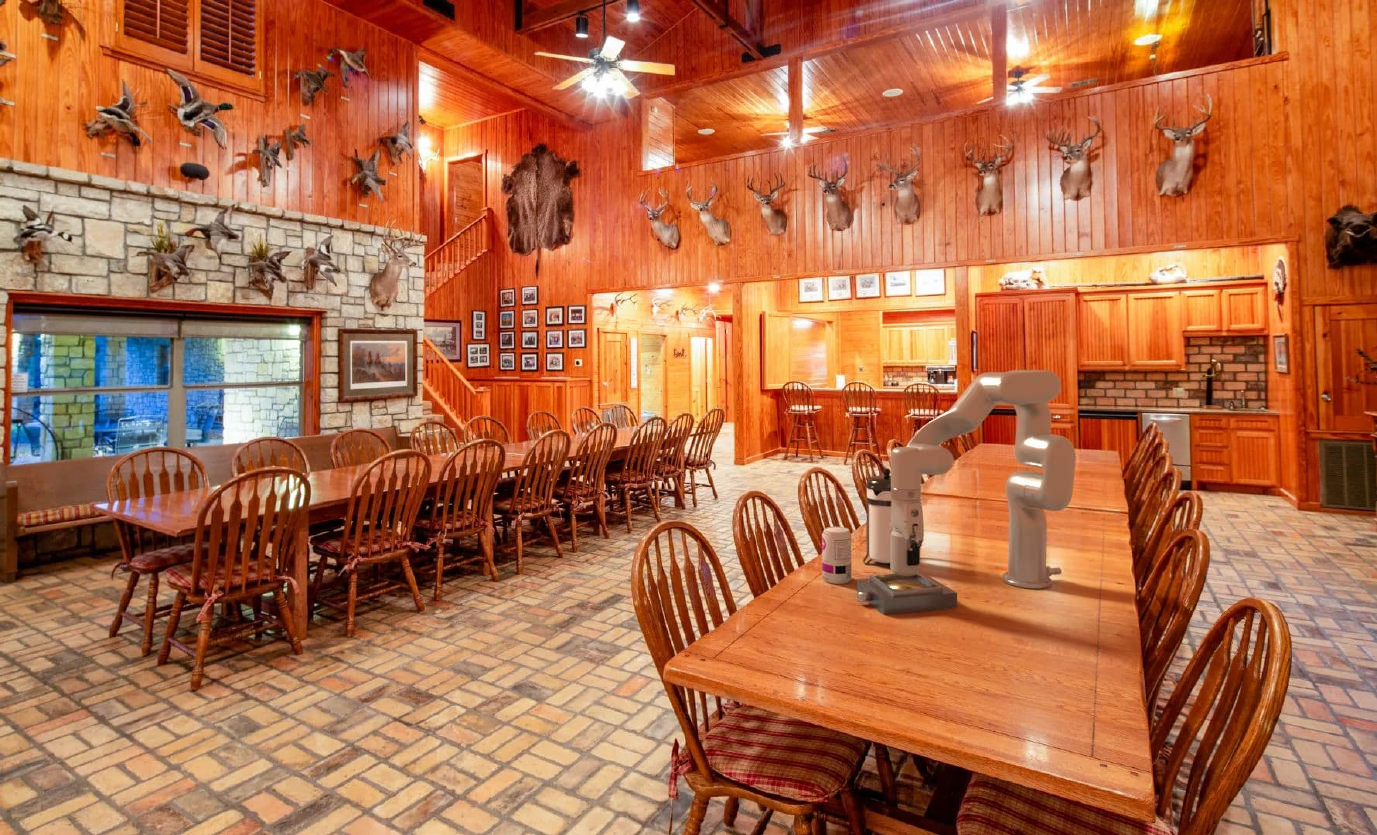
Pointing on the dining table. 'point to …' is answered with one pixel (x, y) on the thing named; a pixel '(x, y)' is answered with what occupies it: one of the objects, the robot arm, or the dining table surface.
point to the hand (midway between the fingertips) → (905, 560)
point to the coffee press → (878, 518)
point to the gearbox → (905, 593)
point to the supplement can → (836, 555)
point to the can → (901, 555)
